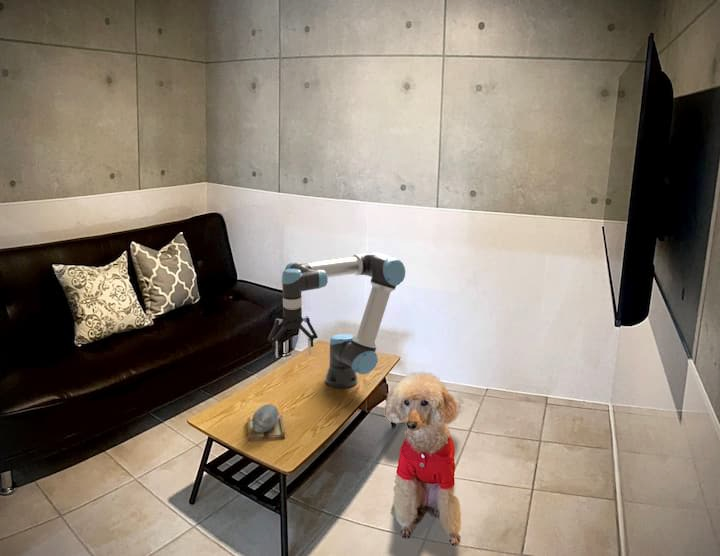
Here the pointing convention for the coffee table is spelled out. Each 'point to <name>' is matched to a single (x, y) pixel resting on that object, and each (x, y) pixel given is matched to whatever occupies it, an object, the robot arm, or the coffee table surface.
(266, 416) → the grey streaked ellipsoid
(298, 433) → the coffee table surface
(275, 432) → the shallow beige tray
